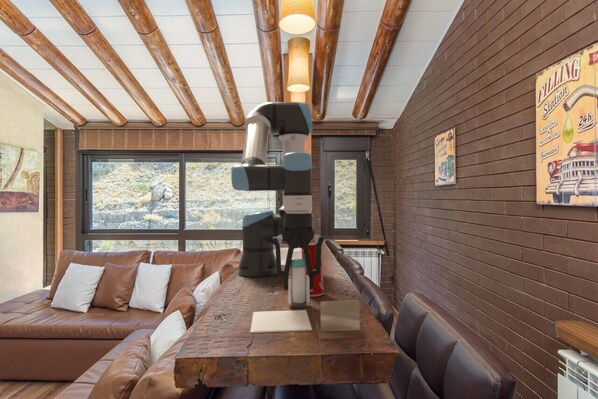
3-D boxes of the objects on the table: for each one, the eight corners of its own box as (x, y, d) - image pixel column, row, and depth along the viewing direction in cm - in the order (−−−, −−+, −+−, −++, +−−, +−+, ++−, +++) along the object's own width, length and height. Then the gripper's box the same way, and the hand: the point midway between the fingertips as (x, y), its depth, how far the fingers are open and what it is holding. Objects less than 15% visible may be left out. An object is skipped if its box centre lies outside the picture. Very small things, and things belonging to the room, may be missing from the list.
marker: (290, 303, 88) (290, 259, 88) (305, 303, 88) (305, 258, 88) (291, 309, 84) (290, 261, 84) (307, 308, 84) (306, 261, 84)
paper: (253, 313, 81) (253, 311, 81) (306, 311, 82) (306, 309, 82) (250, 333, 69) (250, 331, 69) (311, 330, 70) (311, 329, 70)
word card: (317, 333, 69) (317, 299, 69) (359, 331, 69) (359, 298, 69) (319, 339, 66) (319, 304, 66) (363, 337, 66) (363, 302, 66)
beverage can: (322, 297, 93) (322, 244, 93) (300, 296, 94) (299, 244, 94) (325, 292, 98) (324, 242, 98) (303, 290, 100) (303, 241, 100)
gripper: (264, 213, 81) (265, 307, 81) (332, 212, 83) (333, 305, 83) (265, 212, 89) (266, 298, 89) (327, 211, 90) (328, 296, 90)
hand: (298, 301), depth 86 cm, fingers closed on marker, 4 cm apart
